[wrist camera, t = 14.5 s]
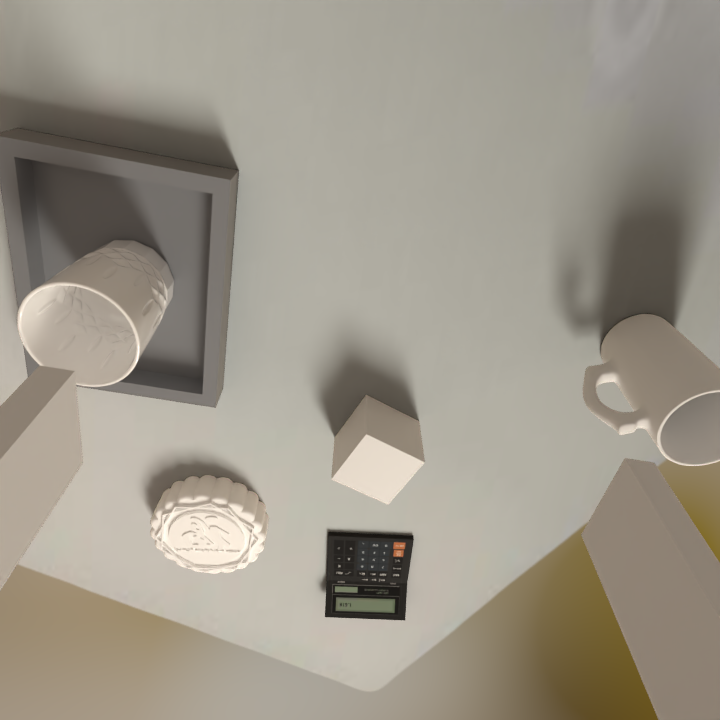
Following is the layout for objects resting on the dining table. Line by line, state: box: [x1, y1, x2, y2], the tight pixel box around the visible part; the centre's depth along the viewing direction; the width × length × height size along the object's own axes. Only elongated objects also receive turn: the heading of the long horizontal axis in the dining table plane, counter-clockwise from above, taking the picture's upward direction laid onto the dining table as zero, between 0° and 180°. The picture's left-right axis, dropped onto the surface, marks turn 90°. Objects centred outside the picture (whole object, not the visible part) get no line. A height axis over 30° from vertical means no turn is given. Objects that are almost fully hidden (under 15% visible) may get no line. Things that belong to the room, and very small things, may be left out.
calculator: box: [325, 532, 414, 620], centre depth 64 cm, size 9×12×3 cm
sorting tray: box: [0, 128, 239, 408], centre depth 45 cm, size 20×16×3 cm
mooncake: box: [150, 475, 269, 574], centre depth 59 cm, size 12×12×4 cm
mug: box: [583, 314, 720, 466], centre depth 44 cm, size 10×7×12 cm, turn 101°
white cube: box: [331, 395, 425, 505], centre depth 52 cm, size 6×6×6 cm
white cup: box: [17, 240, 174, 387], centre depth 41 cm, size 8×8×10 cm
